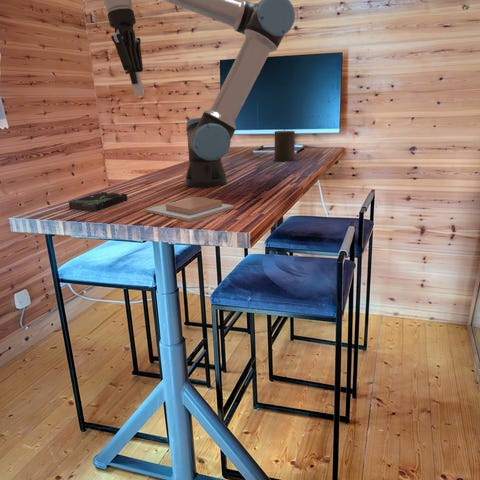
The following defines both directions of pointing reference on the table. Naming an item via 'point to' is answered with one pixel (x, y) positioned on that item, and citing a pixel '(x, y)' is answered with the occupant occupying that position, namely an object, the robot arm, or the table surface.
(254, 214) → the table surface
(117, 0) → the robot arm
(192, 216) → the mat
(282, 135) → the pillar candle
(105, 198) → the disk drive
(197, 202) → the tile
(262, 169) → the table surface
